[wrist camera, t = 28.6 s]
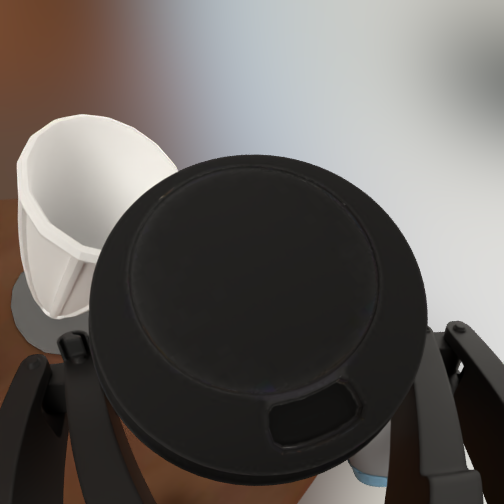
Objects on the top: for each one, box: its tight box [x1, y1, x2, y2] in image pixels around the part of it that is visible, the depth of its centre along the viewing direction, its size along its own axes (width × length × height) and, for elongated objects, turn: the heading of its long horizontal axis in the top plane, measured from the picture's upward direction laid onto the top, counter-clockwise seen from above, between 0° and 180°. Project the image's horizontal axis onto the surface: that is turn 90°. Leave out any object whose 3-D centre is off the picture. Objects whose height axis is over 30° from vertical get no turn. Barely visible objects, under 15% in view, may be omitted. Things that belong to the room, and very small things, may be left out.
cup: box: [11, 114, 178, 354], centre depth 19 cm, size 12×12×22 cm
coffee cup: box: [88, 155, 428, 486], centre depth 12 cm, size 9×9×15 cm
